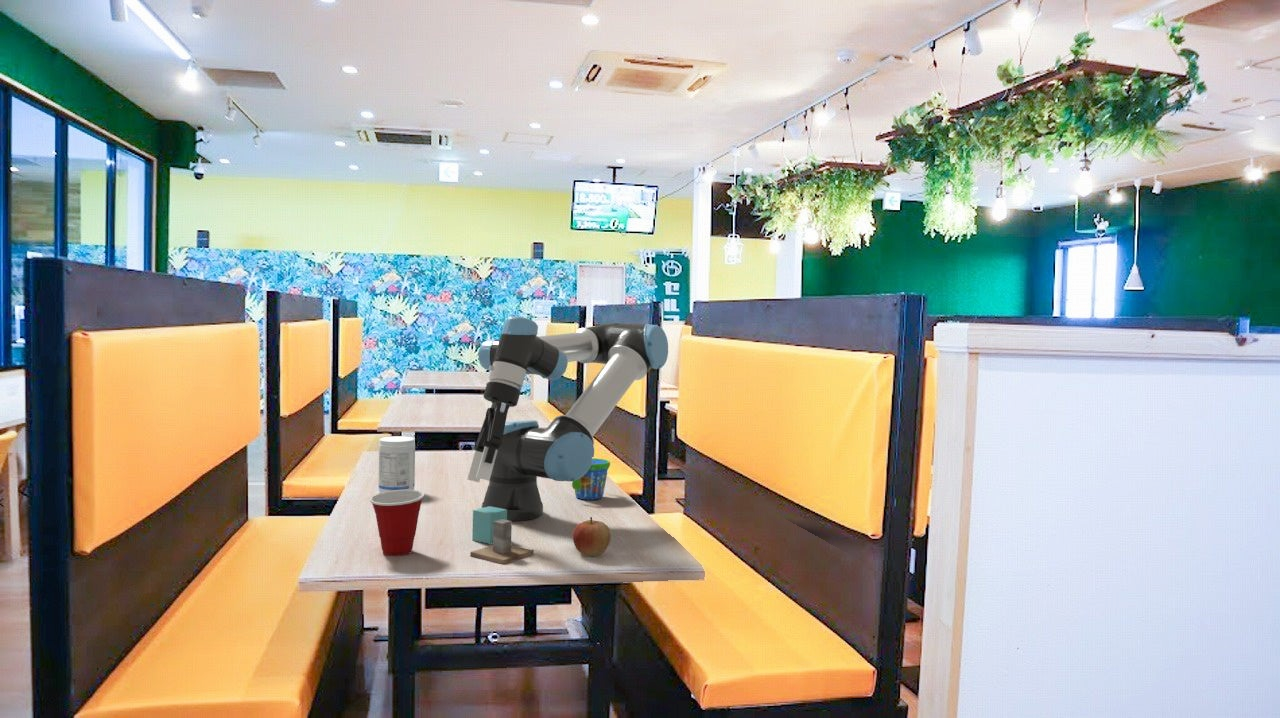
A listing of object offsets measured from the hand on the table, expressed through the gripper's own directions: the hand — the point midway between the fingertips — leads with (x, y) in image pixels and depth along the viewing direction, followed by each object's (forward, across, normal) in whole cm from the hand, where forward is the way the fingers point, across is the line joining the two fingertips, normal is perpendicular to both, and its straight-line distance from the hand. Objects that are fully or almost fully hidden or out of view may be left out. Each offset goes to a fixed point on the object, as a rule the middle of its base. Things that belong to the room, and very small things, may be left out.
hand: (477, 480), depth 179 cm
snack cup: (-6, -42, +36) cm, 56 cm away
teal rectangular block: (+11, -6, +7) cm, 15 cm away
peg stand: (+14, +5, +8) cm, 17 cm away
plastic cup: (+18, -1, -12) cm, 22 cm away
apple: (+10, +9, +26) cm, 29 cm away
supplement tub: (+5, -59, -12) cm, 61 cm away
